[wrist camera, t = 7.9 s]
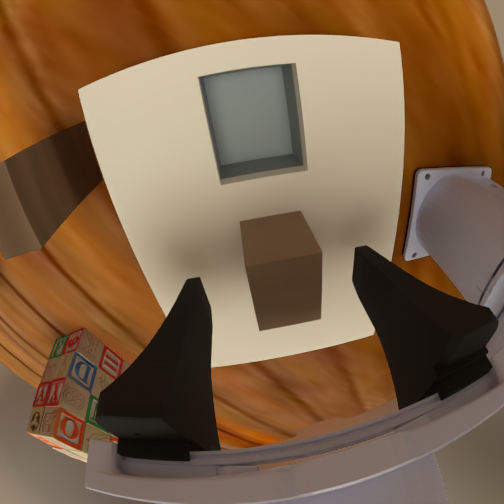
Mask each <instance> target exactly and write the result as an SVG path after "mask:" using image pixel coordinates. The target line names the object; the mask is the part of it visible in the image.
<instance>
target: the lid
mask: <svg viewBox="0 0 504 504" xmlns="http://www.w3.org/2000/svg"><path fill="white" fill-rule="evenodd" d="M285 64H291V66H292V72H293V79H294V87H295V94H296V102H297V110H298V118H299V127H300V136H301V146H302V156H303V166H296V167H289V168H283V169H276V170H270V171H264V172H258V173H252V174H246V175H241V176H235V177H230V178H225V179H221V178H220V173H219V169H218V164H217V159H216V155H215V150H214V145H213V141H212V136H211V131H210V126H209V122H208V117H207V112H206V107H205V102H204V97H203V93H202V88H201V83H200V78H199V77H203V76H208V75H213V74H218V73H223V72H229V71H235V70H241V69H248V68H255V67H264V66H273V65H285ZM78 92H79V96H80V101H81V105H82V109H83V112H84V116H85V120H86V124H87V127H88V131H89V134H90V137H91V141H92V144H93V147H94V150H95V154H96V157H97V160H98V163H99V166H100V169H101V172H102V174H103V177H104V180H105V183H106V186H107V188H108V191H109V194H110V196H111V199H112V202H113V204H114V207H115V209H116V212H117V214H118V217H119V219H120V221H121V224H122V226H123V229H124V231H125V233H126V236H127V238H128V240H129V242H130V245H131V247H132V249H133V251H134V254H135V256H136V258H137V260H138V262H139V264H140V266H141V269H142V271H143V273H144V275H145V277H146V279H147V281H148V283H149V285H150V287H151V289H152V291H153V293H154V295H155V297H156V299H157V300H158V302H159V304H160V306H161V308H162V310H163V312H164V314H165V315H166V317H167V315H168V314H169V312H170V310H171V308H172V306H173V305H174V303H175V301H176V299H177V297H178V295H179V293H180V291H181V289H182V287H183V285H184V283H185V281H186V280H187V279H190V278H196V277H200V278H201V281H202V284H203V287H204V289H205V292H206V295H207V297H208V300H209V303H210V305H211V310H212V324H213V333H212V355H211V367H219V366H227V365H235V364H242V363H249V362H255V361H261V360H267V359H273V358H278V357H283V356H289V355H294V354H298V353H303V352H308V351H312V350H317V349H321V348H325V347H330V346H334V345H338V344H342V343H345V342H349V341H353V340H357V339H360V338H364V337H367V336H371V335H373V334H374V331H375V328H374V326H373V324H372V323H371V321H370V319H369V317H368V315H367V313H366V311H365V309H364V307H363V305H362V304H361V302H360V300H359V298H358V295H357V293H356V290H355V288H354V285H353V282H352V273H353V263H354V252H355V247H360V246H365V245H367V246H369V247H370V248H372V249H373V250H375V251H376V252H378V253H379V254H380V255H382V256H383V257H385V258H386V259H388V260H389V261H391V260H392V254H393V249H394V243H395V237H396V230H397V223H398V216H399V208H400V199H401V189H402V177H403V162H404V131H405V117H404V87H403V73H402V62H401V53H400V45H399V42H395V41H388V40H381V39H374V38H365V37H354V36H339V35H287V36H272V37H261V38H251V39H243V40H236V41H230V42H224V43H218V44H213V45H208V46H203V47H198V48H194V49H189V50H185V51H181V52H178V53H174V54H170V55H167V56H163V57H160V58H157V59H153V60H150V61H147V62H144V63H141V64H138V65H135V66H133V67H130V68H127V69H124V70H122V71H119V72H117V73H114V74H112V75H109V76H107V77H105V78H102V79H100V80H98V81H96V82H93V83H91V84H89V85H87V86H85V87H83V88H81V89H79V90H78Z"/></svg>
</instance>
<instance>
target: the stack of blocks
mask: <svg viewBox="0 0 504 504" xmlns="http://www.w3.org/2000/svg"><path fill="white" fill-rule="evenodd" d="M48 360H49V361H48V363H47V365H46V368H45V370H44V373H43V376H42V379H41V382H40V384H39V387H38V390H37V393H36V396H35V400H34V403H33V409H32V412H31V416H30V420H29V423H28V427H27V433H29V434H30V435H32V436H34V437H36V438H38V439H39V440H41V441H43V442H45V443H47V444H49V445H51V446H52V448H53V449H55V450H57V451H59V452H62V453H64V454H66V455H68V456H70V457H73V458H76V459H79V460H82V461H84V462H87V457H88V448H89V441H90V439H97V440H103V441H110V442H114V443H117V444H118V437H116V436H114V435H113V434H111V433H109V432H108V431H106V430H105V429H103V428H102V427H100V426H99V425H98V424H97V423H96V421H95V416H96V410H97V404H98V399H99V395H100V392H101V391H102V390H104V389H105V388H106V387H107V386H108V385H110V384H111V383H112V382H113V381H114V380H116V379H117V378H118V377H119V376H120V375H121V374H122V373H123V372H124V371H125V370H126V369H127V368H128V367H129V366H130V365H129V364H128V363H126V362H125V361H124V360H123V359H122V358H120V357H119V356H118V355H116V354H115V353H114V352H113V351H111V350H110V349H109V348H108V347H106V346H105V345H104V344H103V343H102V342H101V341H99V340H98V339H97V338H96V337H95V336H94V335H92V334H91V333H90V332H89V331H88V330H87V329H86V328H82V329H80V330H77V331H75V332H73V333H70V334H69V335H67V336H64V337H62V338H59V339H57V340H56V341H55V344H54V346H53V349H52V351H51V354H50V356H49V359H48Z"/></svg>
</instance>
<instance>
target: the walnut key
mask: <svg viewBox="0 0 504 504" xmlns="http://www.w3.org/2000/svg"><path fill="white" fill-rule="evenodd" d="M101 181H102V177H101V174H100V171H99V168H98V165H97V162H96V159H95V156H94V153H93V149H92V146H91V143H90V139H89V136H88V132H87V129H86V125H85V122H82V123H80V124H77V125H75V126H72V127H70V128H68V129H65V130H63V131H61V132H59V133H56V134H54V135H52V136H50V137H48V138H46V139H44V140H42V141H40V142H38V143H36V144H34V145H32V146H30V147H28V148H26V149H24V150H22V151H21V152H19V153H17V154H15V155H14V156H12V157H10V158H8V159H7V160H5V161H3V162H2V163H1V164H0V251H1V253H2V255H3V257H4V258H5V260H6V259H9V258H12V257H15V256H18V255H21V254H24V253H27V252H31V251H34V250H37V249H40V248H42V247H43V246H44V245H45V244H46V242H47V241H48V240H49V238H50V237H51V236H52V235H53V234H54V232H55V231H56V230H57V229H58V228H59V226H60V225H61V224H62V223H63V222H64V220H65V219H66V218H67V217H68V216H69V215H70V214H71V213H72V211H73V210H74V209H75V208H76V207H77V206H78V205H79V204H80V203H81V202H82V200H83V199H84V198H85V197H86V196H87V195H88V194H89V193H90V192H91V191H92V190H93V189H94V188H95V187H96V186H97V185H98V184H99V183H100V182H101Z"/></svg>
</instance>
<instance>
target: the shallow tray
mask: <svg viewBox="0 0 504 504" xmlns="http://www.w3.org/2000/svg"><path fill="white" fill-rule="evenodd" d="M199 78H200V83H201V88H202V93H203V97H204V102H205V107H206V112H207V117H208V122H209V126H210V131H211V136H212V141H213V145H214V150H215V155H216V159H217V164H218V169H219V173H220V178H221V179H225V178H230V177H235V176H241V175H246V174H252V173H258V172H264V171H270V170H276V169H283V168H289V167H296V166H303V156H302V146H301V136H300V127H299V118H298V110H297V102H296V94H295V87H294V79H293V72H292V66H291V64H285V65H273V66H264V67H255V68H248V69H241V70H235V71H229V72H223V73H218V74H213V75H208V76H203V77H199Z"/></svg>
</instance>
